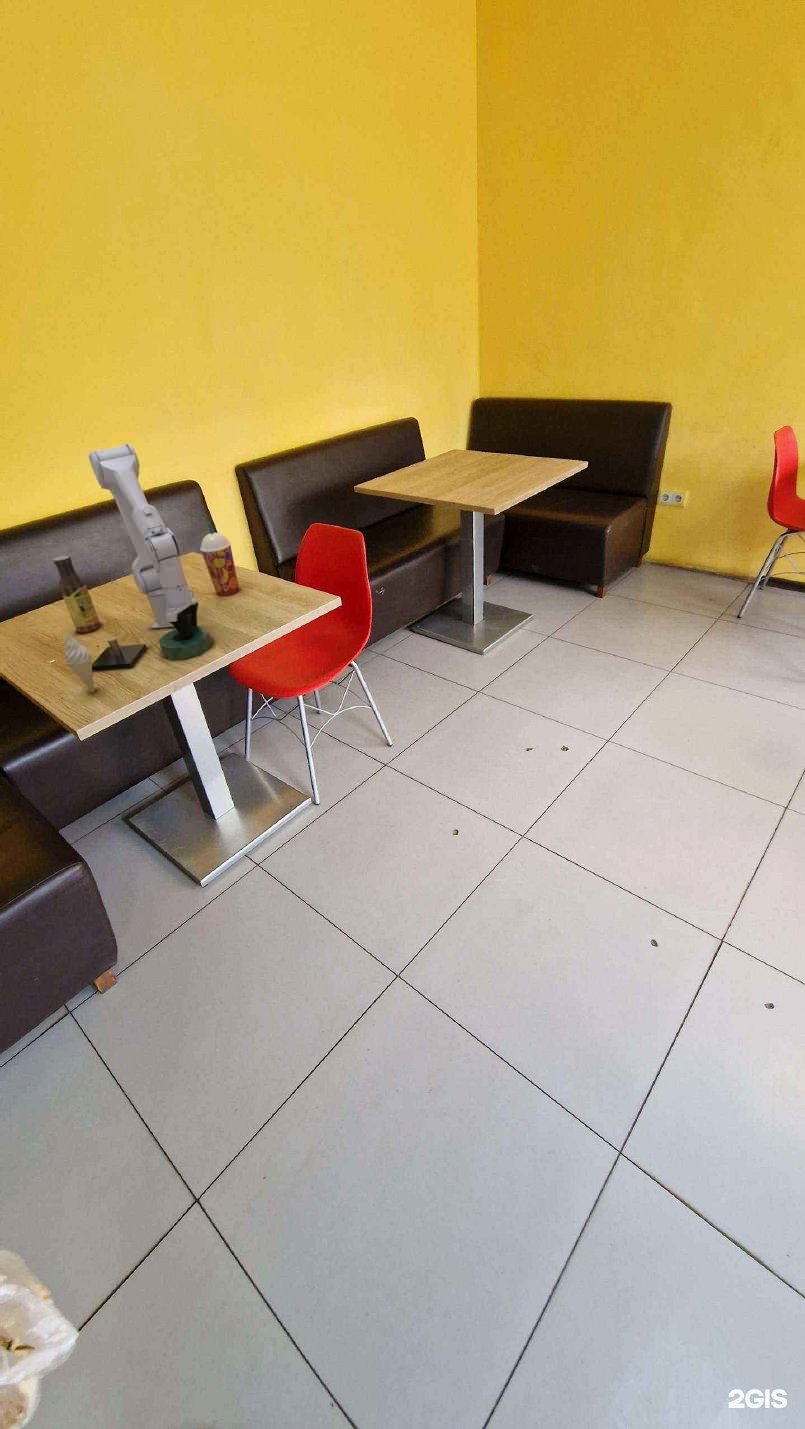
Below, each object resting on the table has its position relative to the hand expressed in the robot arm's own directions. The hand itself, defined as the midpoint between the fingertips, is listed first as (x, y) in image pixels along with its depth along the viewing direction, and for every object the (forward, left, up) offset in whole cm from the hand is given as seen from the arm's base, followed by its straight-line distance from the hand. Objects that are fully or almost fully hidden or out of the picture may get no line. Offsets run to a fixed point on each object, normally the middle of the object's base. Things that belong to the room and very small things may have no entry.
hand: (190, 635), depth 157 cm
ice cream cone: (+22, -16, -2) cm, 27 cm away
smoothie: (-31, +1, -2) cm, 31 cm away
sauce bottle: (-13, -33, -2) cm, 35 cm away
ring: (+4, 0, -1) cm, 4 cm away
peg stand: (+7, -16, -1) cm, 18 cm away
